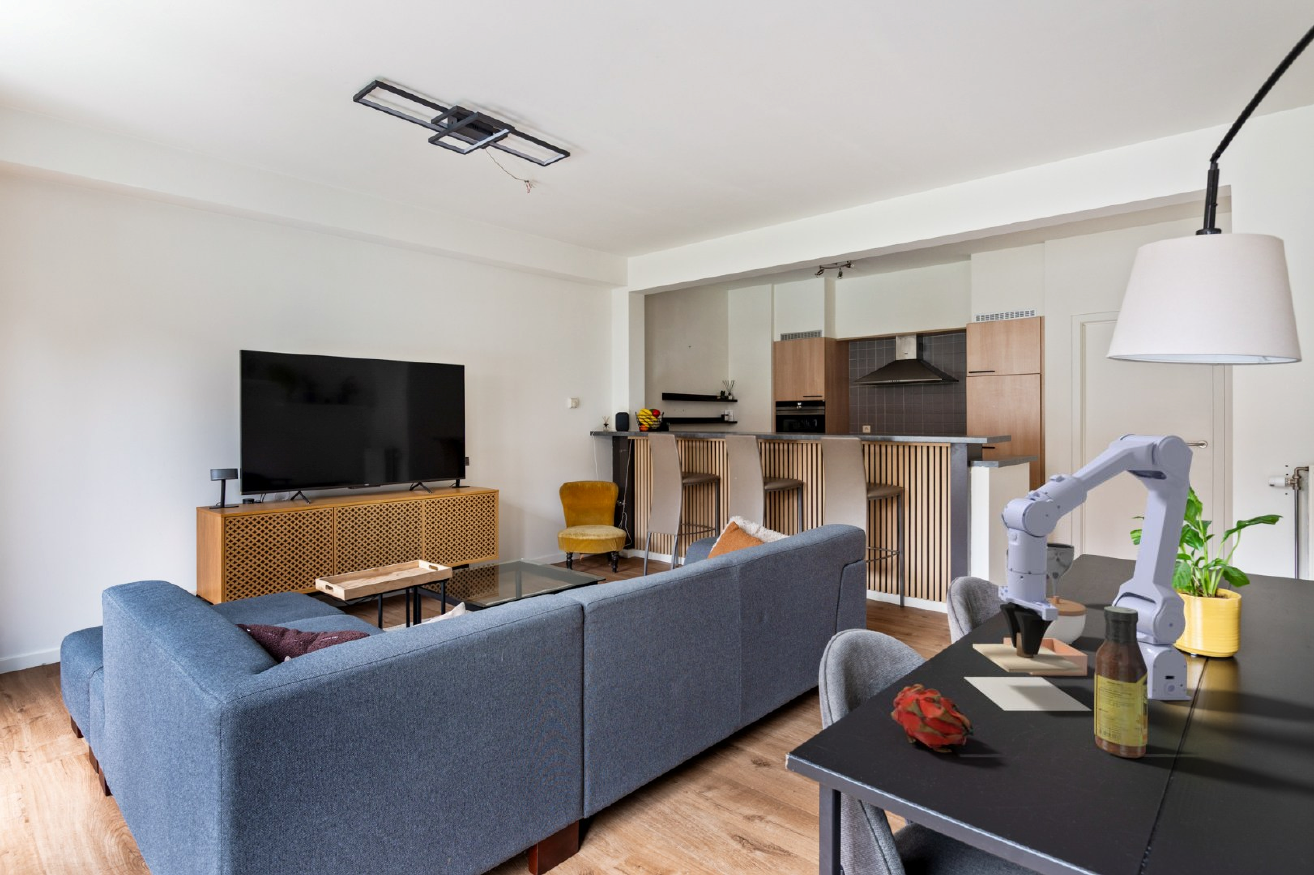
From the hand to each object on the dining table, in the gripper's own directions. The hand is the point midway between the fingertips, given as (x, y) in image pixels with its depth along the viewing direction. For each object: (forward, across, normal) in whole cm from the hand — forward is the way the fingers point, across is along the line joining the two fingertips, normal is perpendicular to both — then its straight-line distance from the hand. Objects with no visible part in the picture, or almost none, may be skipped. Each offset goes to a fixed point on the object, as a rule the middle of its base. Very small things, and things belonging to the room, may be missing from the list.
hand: (1025, 650), depth 116 cm
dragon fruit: (+8, +17, -23) cm, 30 cm away
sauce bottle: (+8, +19, +3) cm, 21 cm away
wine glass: (+8, -58, +40) cm, 70 cm away
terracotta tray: (+8, -13, +11) cm, 19 cm away
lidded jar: (+8, -29, +23) cm, 38 cm away
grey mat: (+8, 0, 0) cm, 8 cm away
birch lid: (+1, 0, 0) cm, 1 cm away
